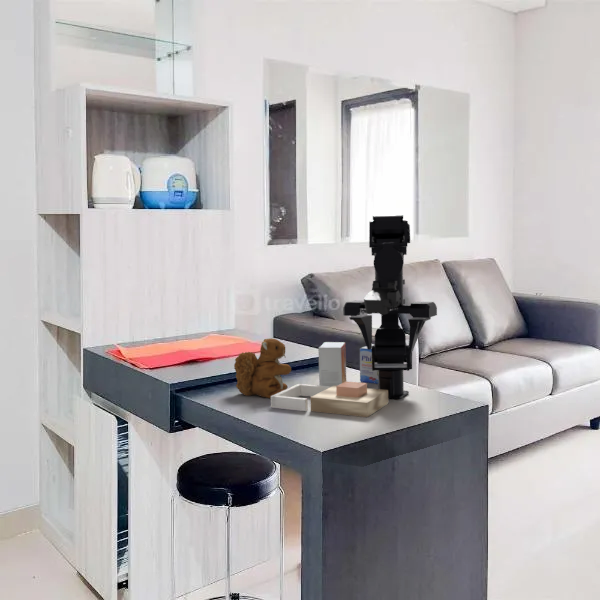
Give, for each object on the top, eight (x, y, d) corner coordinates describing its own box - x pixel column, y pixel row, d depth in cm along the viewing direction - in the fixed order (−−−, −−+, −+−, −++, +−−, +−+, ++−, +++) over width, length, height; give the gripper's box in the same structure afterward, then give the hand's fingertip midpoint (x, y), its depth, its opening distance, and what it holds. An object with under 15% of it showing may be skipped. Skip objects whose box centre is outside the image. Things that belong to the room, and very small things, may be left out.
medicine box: (359, 382, 181) (358, 348, 180) (368, 378, 185) (367, 345, 184) (388, 385, 177) (387, 350, 176) (396, 381, 181) (395, 347, 180)
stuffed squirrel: (289, 399, 167) (288, 342, 165) (229, 399, 168) (226, 342, 167) (294, 388, 176) (293, 335, 175) (237, 389, 178) (235, 335, 177)
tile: (346, 390, 160) (345, 381, 160) (367, 392, 158) (367, 383, 158) (336, 395, 156) (336, 386, 156) (358, 397, 153) (357, 388, 153)
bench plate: (334, 398, 166) (334, 385, 165) (388, 403, 160) (388, 390, 159) (310, 411, 155) (310, 397, 155) (367, 417, 149) (367, 402, 149)
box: (298, 394, 170) (298, 383, 170) (331, 397, 167) (331, 386, 166) (271, 407, 159) (270, 396, 159) (305, 411, 155) (305, 399, 155)
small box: (342, 391, 172) (341, 347, 171) (319, 390, 173) (317, 347, 172) (347, 383, 180) (346, 341, 179) (324, 383, 181) (323, 341, 180)
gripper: (331, 277, 147) (332, 353, 149) (419, 277, 139) (420, 358, 140) (353, 274, 157) (354, 346, 158) (437, 274, 148) (438, 350, 150)
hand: (390, 350), depth 151 cm, fingers open, 9 cm apart
